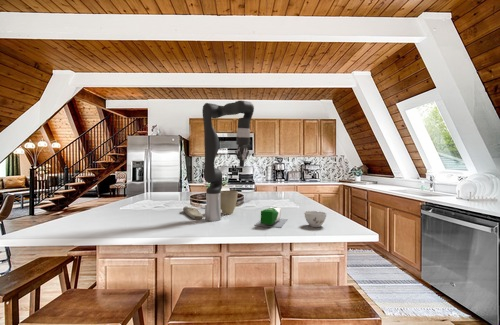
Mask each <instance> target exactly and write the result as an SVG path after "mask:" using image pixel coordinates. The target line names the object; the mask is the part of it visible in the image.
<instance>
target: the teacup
mask: <svg viewBox="0 0 500 325" xmlns="http://www.w3.org/2000/svg"><path fill="white" fill-rule="evenodd" d="M303 214H304V218H305V220H306V222H307V224H308V225H309V227H312V228H321V227H322V225H323V224H324V223H325V220H326V217H327V213H326V212H323V211H318V210H317V211H316V210H308V211H307V210H306V211H304V213H303Z"/></svg>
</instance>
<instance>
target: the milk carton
mask: <svg viewBox="0 0 500 325" xmlns="http://www.w3.org/2000/svg"><path fill="white" fill-rule="evenodd" d="M281 214H282V208H281V207H277V206H270V207H268V208H265V209H263V210H261V211H260V220H261V223H263V224H273V223H275V222H277V221H280V219H282V218H281V216H282V215H281Z"/></svg>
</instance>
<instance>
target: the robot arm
mask: <svg viewBox="0 0 500 325" xmlns="http://www.w3.org/2000/svg"><path fill="white" fill-rule="evenodd" d="M254 111H255V106H254V104H253V103H252V102H251V101H247V100H246V101H245V100H237V101H235V102H229V103H226V104H224V105H218V104H215V103H210V102H209V103H208V102H205V103H203V106H202V112H201V113H202V120H203V121H202V122H203V130H204V131H203V132H204V135H203V137H204V141H203V142H204V164H203V165H204V166H203V168H204V169H203V178H204V181H205V183H207V184H209V186H208V187H207V188H206V190H205V191H206V192H205V195H206V196H205V198H206V199H205V200H206V202H205V205H204V220H205V221H209V222H215V221H217V222H218V221H220V220H221V219H222V217H221V215H222V214H221V213H222V210H221V191H222V187H223V173H222V171H221V169H219V168H217V167H216V168H215V160H216V157H217V155H218V151H219V149H220V148H219V147H220V145H219V144H220V142H219V141H220V140H219V136H218V134H217V132H216V130H215V128H214V127H213V123H212V119H218V118H222V117H224V116H232V115H233V116H235V115H236V116H237V115H239V114H243V117H240V118H238V120H237V130H236V140H235V141H236V142H235V144H236V145H237V149H236V150H234V152H235V156H236V158H237V160H238V161H239V167H240V168H241V167H242V168H244V167H245V161H246V160H247V158H248V156H249V153H250V150H248V146H250V141H251V140H250V139H251V121H252V118H253V114H254Z"/></svg>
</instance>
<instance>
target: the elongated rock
mask: <svg viewBox="0 0 500 325" xmlns="http://www.w3.org/2000/svg"><path fill="white" fill-rule="evenodd" d="M182 210H183V212H184V214H185V215H187V216H188V217H190V218H191V219H192V220H197V221H198V220H199V221H200V220H203V218H204V215H203V214H202V213H201V211H199V209H198V208H195V207H190V206H187V205H186V206H184V207H183V209H182Z"/></svg>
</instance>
